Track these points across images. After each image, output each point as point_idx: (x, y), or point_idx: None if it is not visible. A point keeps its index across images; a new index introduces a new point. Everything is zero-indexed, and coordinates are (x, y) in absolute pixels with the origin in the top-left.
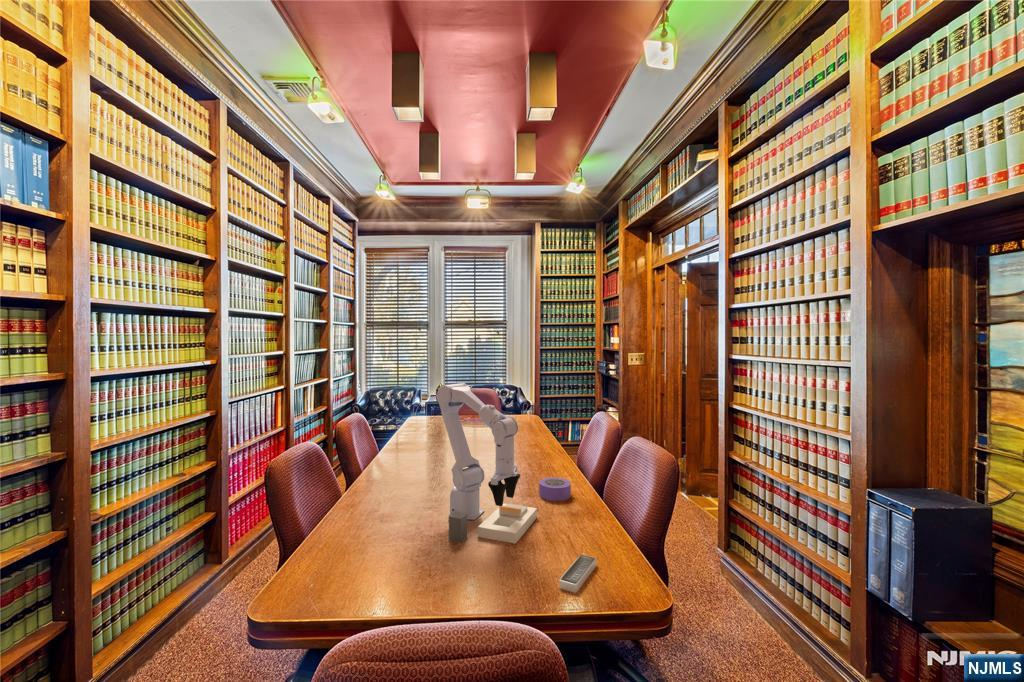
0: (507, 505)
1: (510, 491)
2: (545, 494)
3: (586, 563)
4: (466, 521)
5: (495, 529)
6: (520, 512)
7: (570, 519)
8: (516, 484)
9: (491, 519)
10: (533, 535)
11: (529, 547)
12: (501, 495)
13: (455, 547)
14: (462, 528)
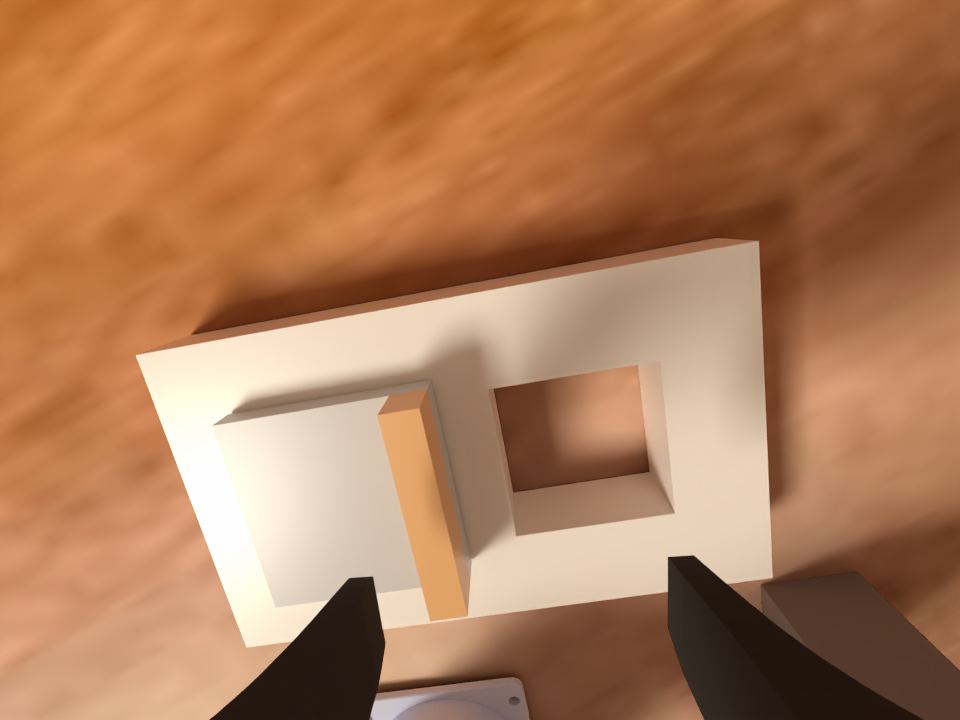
0: (312, 586)
1: (351, 669)
2: None
3: None
4: None
5: (760, 437)
6: (411, 397)
7: (19, 42)
8: (225, 710)
9: (591, 563)
10: (508, 186)
11: (727, 100)
12: (831, 672)
13: (936, 563)
14: (905, 646)
